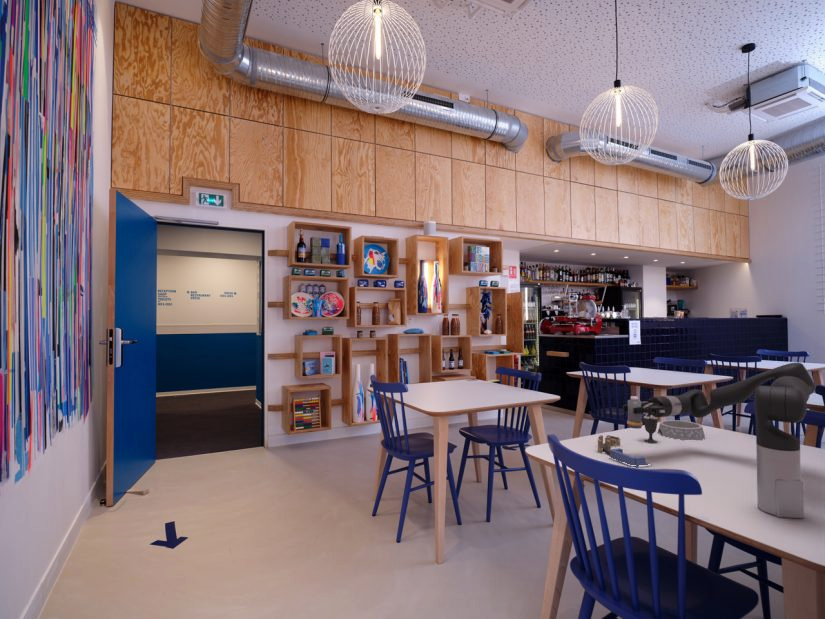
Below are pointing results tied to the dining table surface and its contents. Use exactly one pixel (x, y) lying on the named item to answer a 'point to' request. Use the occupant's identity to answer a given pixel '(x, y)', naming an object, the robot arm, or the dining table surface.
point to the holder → (627, 458)
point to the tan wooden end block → (614, 440)
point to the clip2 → (606, 439)
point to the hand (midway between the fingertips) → (628, 409)
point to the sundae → (650, 426)
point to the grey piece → (634, 419)
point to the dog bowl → (681, 430)
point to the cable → (606, 449)
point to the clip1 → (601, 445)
